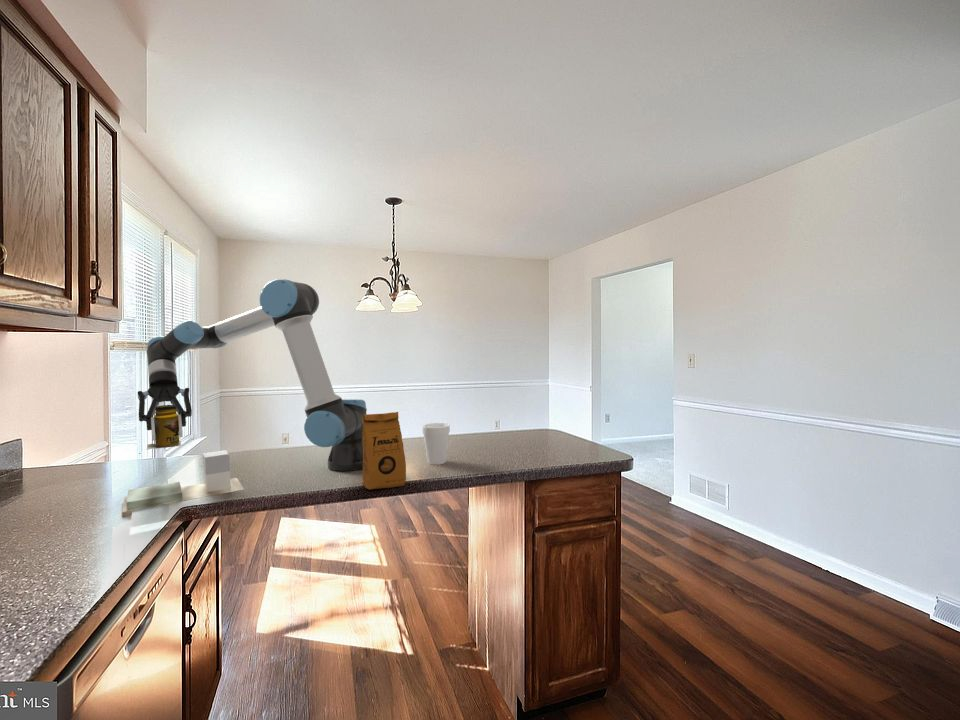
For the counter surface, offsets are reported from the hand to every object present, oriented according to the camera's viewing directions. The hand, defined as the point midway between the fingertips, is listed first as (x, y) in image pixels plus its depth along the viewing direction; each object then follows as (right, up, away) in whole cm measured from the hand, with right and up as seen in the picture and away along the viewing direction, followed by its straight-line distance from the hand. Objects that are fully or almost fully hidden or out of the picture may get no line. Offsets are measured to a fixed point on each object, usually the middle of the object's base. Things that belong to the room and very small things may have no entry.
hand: (167, 436), depth 138 cm
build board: (+9, -16, -5) cm, 19 cm away
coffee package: (+64, -15, +2) cm, 65 cm away
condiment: (-3, -4, +3) cm, 5 cm away
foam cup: (+77, -14, +27) cm, 83 cm away
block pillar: (+15, -15, -1) cm, 21 cm away
